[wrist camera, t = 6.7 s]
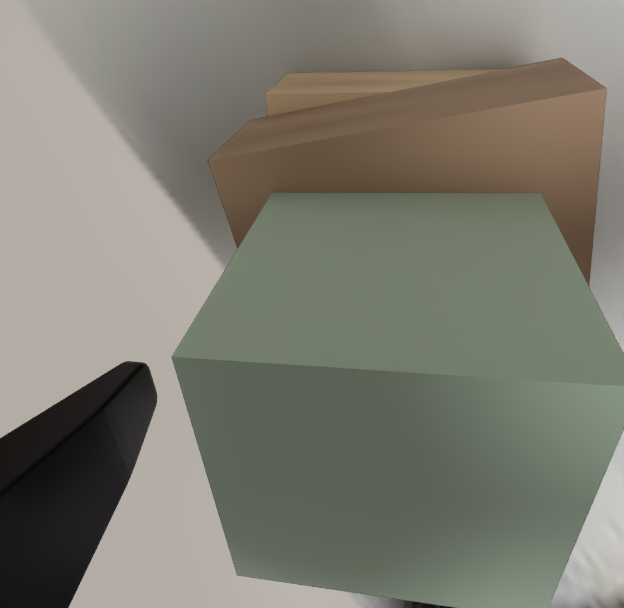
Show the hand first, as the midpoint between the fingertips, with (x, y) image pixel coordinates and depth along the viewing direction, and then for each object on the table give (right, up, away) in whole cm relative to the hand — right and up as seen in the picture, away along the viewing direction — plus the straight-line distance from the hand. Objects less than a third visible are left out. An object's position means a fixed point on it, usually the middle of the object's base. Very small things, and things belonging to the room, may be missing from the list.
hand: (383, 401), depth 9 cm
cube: (+1, +2, +2) cm, 3 cm away
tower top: (+1, +4, +4) cm, 6 cm away
